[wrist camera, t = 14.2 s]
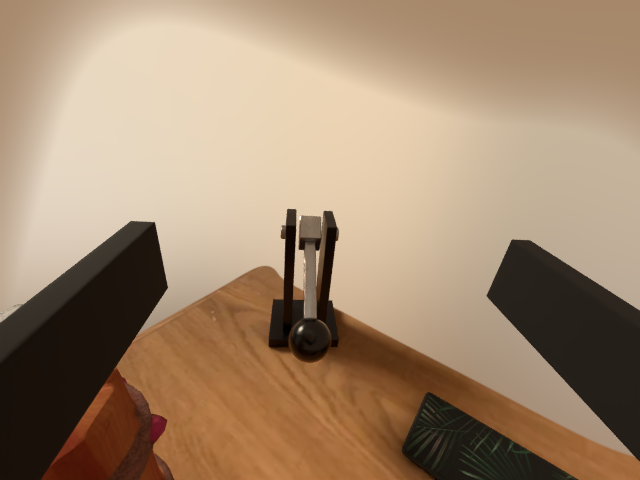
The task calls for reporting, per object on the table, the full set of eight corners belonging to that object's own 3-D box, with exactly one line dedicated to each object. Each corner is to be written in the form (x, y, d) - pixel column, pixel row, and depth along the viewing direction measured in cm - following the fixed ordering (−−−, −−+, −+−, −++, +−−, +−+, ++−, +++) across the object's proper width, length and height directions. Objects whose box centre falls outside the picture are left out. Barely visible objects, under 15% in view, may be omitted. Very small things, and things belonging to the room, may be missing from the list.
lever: (329, 366, 24) (335, 357, 21) (287, 366, 24) (288, 357, 21) (324, 233, 32) (328, 213, 29) (292, 231, 32) (293, 211, 29)
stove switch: (337, 347, 33) (355, 234, 26) (268, 347, 32) (268, 230, 26) (331, 307, 39) (344, 207, 33) (273, 306, 39) (274, 203, 32)
